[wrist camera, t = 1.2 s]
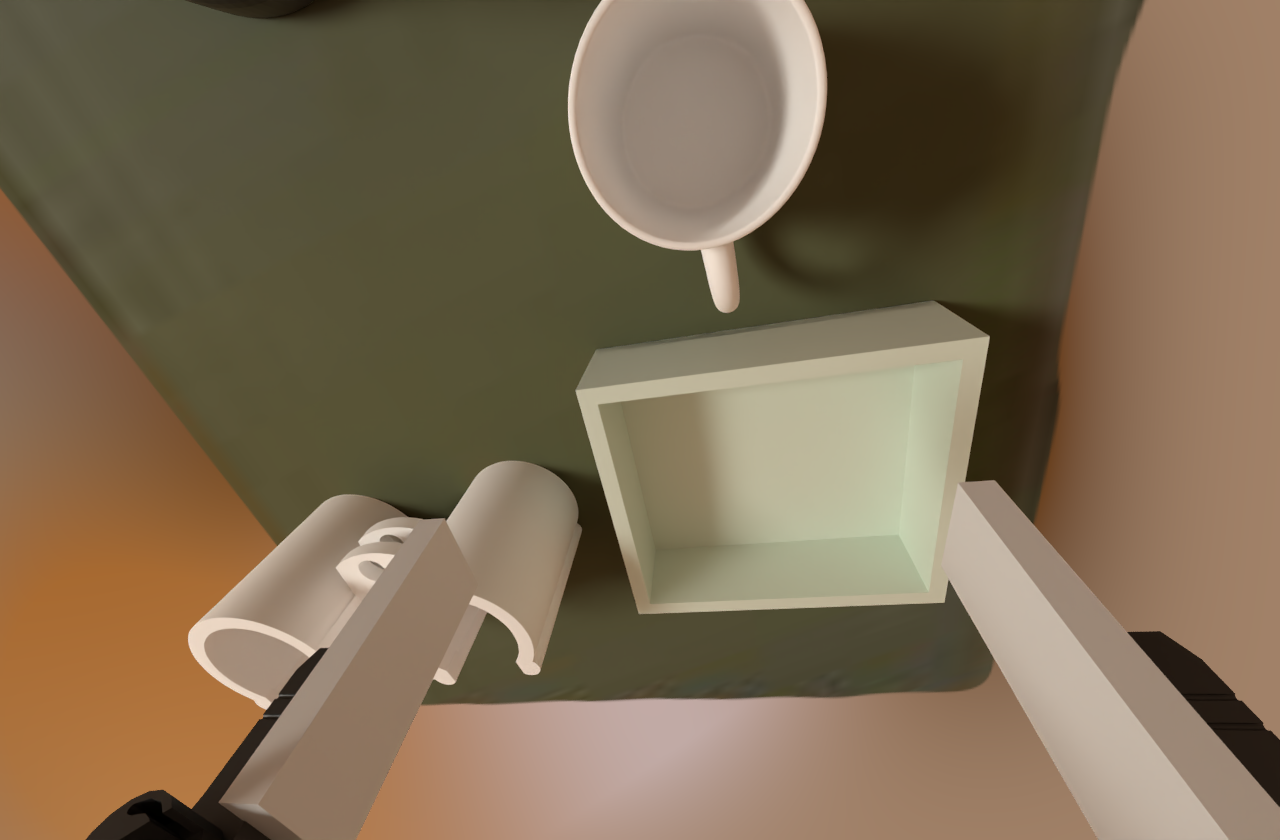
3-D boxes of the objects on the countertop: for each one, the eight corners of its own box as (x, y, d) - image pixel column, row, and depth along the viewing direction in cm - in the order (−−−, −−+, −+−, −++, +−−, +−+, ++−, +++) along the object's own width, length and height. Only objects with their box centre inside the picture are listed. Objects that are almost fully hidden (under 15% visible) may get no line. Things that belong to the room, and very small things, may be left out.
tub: (596, 349, 31) (575, 390, 25) (933, 300, 27) (989, 336, 22) (646, 552, 39) (638, 614, 34) (908, 536, 35) (944, 602, 30)
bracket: (546, 441, 35) (482, 567, 24) (596, 537, 39) (558, 679, 29) (291, 507, 41) (152, 629, 31) (358, 583, 45) (256, 713, 35)
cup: (766, -5, 21) (814, -113, 12) (796, 263, 27) (844, 318, 18) (593, 59, 23) (529, 3, 14) (654, 297, 28) (635, 363, 20)
